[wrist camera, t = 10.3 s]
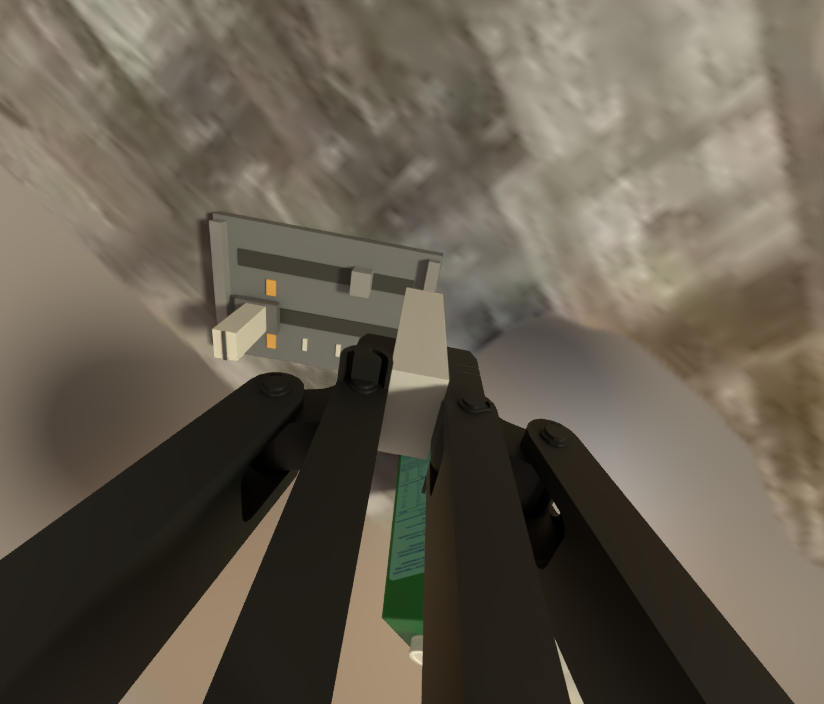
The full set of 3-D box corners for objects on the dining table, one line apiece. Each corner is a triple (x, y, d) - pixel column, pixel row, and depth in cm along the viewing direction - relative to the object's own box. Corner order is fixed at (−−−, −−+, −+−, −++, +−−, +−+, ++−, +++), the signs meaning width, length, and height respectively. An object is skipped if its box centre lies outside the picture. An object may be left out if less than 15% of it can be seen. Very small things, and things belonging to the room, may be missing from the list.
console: (220, 211, 39) (201, 216, 36) (442, 253, 40) (443, 261, 37) (228, 344, 47) (214, 357, 44) (416, 377, 48) (415, 392, 44)
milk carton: (400, 442, 53) (377, 648, 31) (458, 420, 50) (479, 626, 28) (428, 484, 56) (426, 696, 34) (484, 465, 54) (520, 680, 32)
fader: (238, 295, 41) (197, 324, 34) (280, 302, 41) (247, 333, 34) (240, 324, 43) (201, 358, 36) (279, 331, 43) (248, 366, 36)
